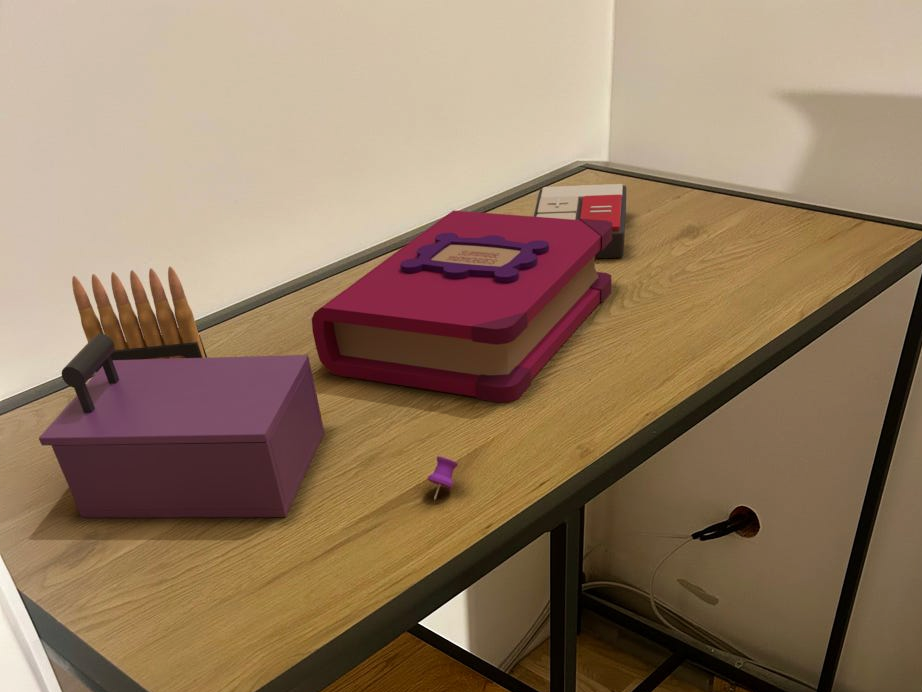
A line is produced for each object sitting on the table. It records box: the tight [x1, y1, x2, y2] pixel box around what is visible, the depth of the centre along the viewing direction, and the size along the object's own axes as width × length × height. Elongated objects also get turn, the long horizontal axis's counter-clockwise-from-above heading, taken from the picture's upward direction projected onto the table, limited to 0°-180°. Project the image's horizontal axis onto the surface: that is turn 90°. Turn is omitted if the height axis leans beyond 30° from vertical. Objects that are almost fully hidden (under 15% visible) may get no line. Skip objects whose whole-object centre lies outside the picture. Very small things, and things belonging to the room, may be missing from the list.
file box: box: [51, 362, 326, 519], centre depth 80 cm, size 17×13×7 cm
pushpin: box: [427, 456, 459, 501], centre depth 76 cm, size 2×3×3 cm
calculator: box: [533, 183, 627, 260], centre depth 116 cm, size 11×4×15 cm
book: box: [311, 210, 612, 403], centre depth 97 cm, size 21×28×8 cm
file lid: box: [38, 334, 311, 446], centre depth 76 cm, size 18×13×5 cm
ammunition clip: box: [71, 266, 208, 374], centre depth 90 cm, size 11×2×12 cm, turn 93°
